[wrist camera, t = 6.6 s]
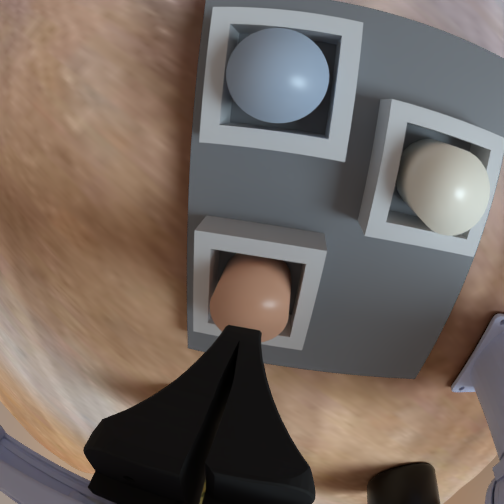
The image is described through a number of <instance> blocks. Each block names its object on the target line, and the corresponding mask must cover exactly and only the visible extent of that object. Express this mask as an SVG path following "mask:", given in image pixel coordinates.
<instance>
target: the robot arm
mask: <svg viewBox="0 0 504 504" xmlns="http://www.w3.org/2000/svg"><path fill="white" fill-rule="evenodd" d="M261 336H262V333H261V331H260V330H255V329H249V328H244V327H238V326H233V325H227V326H226V327H225V328H224V330H223V331H222V333H221V334H220V335H219V337H218V338H217V339H216V341H215V342H214V343H213V344H212V345H211V346H210V348H209V349H208V350H207V351H206V352H205V353H204V354H203V355H202V356H201V357H200V358H199V359H198V360H197V361H196V362H195V363H194V364H193V365H192V366H191V367H190V368H189V369H188V370H187V371H186V372H184V373H183V374H182V375H181V376H180V377H178V378H177V379H176V380H175V381H173V382H172V383H171V384H169V385H168V386H167V387H165V388H164V389H162V390H161V391H159V392H158V393H156V394H155V395H153V396H151V397H150V398H148V399H146V400H144V401H142V402H140V403H139V404H137V405H135V406H133V407H131V408H129V409H127V410H125V411H122V412H120V413H117V414H115V415H112V416H110V417H107V418H105V419H102V421H101V422H100V423H99V424H98V426H97V427H96V428H95V430H94V431H93V432H92V434H91V436H90V438H89V440H88V441H87V443H86V445H85V447H84V450H83V451H84V454H85V456H86V458H87V459H88V461H89V462H90V464H91V465H92V466H93V468H94V469H95V473H94V475H93V477H92V479H91V481H89V480H87V479H85V478H83V477H80V476H79V475H77V474H74V473H72V472H70V471H69V470H67V469H65V468H63V467H61V466H59V465H57V464H55V463H54V462H52V461H50V460H48V459H46V458H45V457H43V456H41V455H40V454H38V453H36V452H34V451H33V450H31V449H30V448H28V447H26V446H24V445H23V444H22V443H20V442H18V441H17V440H15V439H14V438H12V437H11V436H9V435H8V434H7V433H6V432H5V431H4V429H3V428H2V426H1V425H0V491H2V492H3V493H4V494H6V495H7V496H8V497H10V498H11V499H12V500H14V501H15V502H17V503H18V504H199V503H200V499H201V495H202V491H203V487H204V483H205V479H206V490H205V494H204V497H203V501H202V504H312V503H313V502H314V500H315V485H314V480H313V476H312V472H311V468H310V466H309V465H308V463H307V462H306V461H305V459H304V458H303V456H302V455H301V453H300V452H299V450H298V449H297V447H296V446H295V444H294V442H293V441H292V439H291V437H290V435H289V433H288V431H287V429H286V427H285V425H284V424H283V422H282V420H281V417H280V415H279V413H278V410H277V408H276V405H275V403H274V400H273V397H272V394H271V391H270V388H269V384H268V381H267V377H266V373H265V368H264V363H263V357H262V348H261ZM451 390H452V391H453V392H476V394H477V396H478V399H479V402H480V404H481V407H482V409H483V412H484V415H485V418H486V420H487V423H488V426H489V429H490V432H491V435H492V438H493V441H494V444H495V447H496V450H497V454H498V457H499V460H500V462H499V463H498V464H496V465H495V466H494V467H493V472H494V476H495V478H494V479H493V480H492V481H491V483H490V485H489V487H488V489H487V493H486V499H485V504H504V314H500V313H499V314H496V315H495V316H493V318H492V320H491V322H490V323H489V325H488V327H487V329H486V331H485V333H484V334H483V336H482V338H481V340H480V342H479V343H478V345H477V347H476V348H475V350H474V352H473V353H472V355H471V357H470V358H469V360H468V362H467V363H466V365H465V366H464V368H463V369H462V371H461V373H460V374H459V376H458V377H457V379H456V380H455V382H454V383H453V385H452V386H451Z"/></svg>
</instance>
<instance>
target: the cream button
mask: <svg viewBox="0 0 504 504" xmlns="http://www.w3.org/2000/svg"><path fill="white" fill-rule="evenodd" d="M396 187H397V190H398V192H399V194H400V196H401V198H402V199H403V200H404V201H405V203H406V204H407V205H408V206H409V207H410V208H411V209H412V210H413V211H414V212H415V213H416V214H417V216H418V217H419V218H420V219H421V220H422V221H423V222H424V223H425V224H426V226H428V227H429V228H430V229H431V230H433V231H434V232H436V233H438V234H441V235H447V236H453V235H458V234H462V233H464V232H466V231H468V230H469V229H471V228H472V227H473V226H475V225H476V224H477V222H478V221H479V220H480V219H481V217H482V216H483V214H484V212H485V210H486V208H487V205H488V201H489V196H490V183H489V178H488V174H487V171H486V169H485V167H484V165H483V164H482V162H481V161H480V160H479V159H478V158H477V157H476V156H475V155H474V154H472V153H470V152H468V151H466V150H464V149H461V148H458V147H455V146H452V145H450V144H447V143H444V142H441V141H438V140H434V139H422V140H419V141H416V142H414V143H412V144H411V145H409V146H408V147H407V148H406V149H405V150H404V151H403V153H402V154H401V159H400V164H399V169H398V174H397V178H396Z"/></svg>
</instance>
